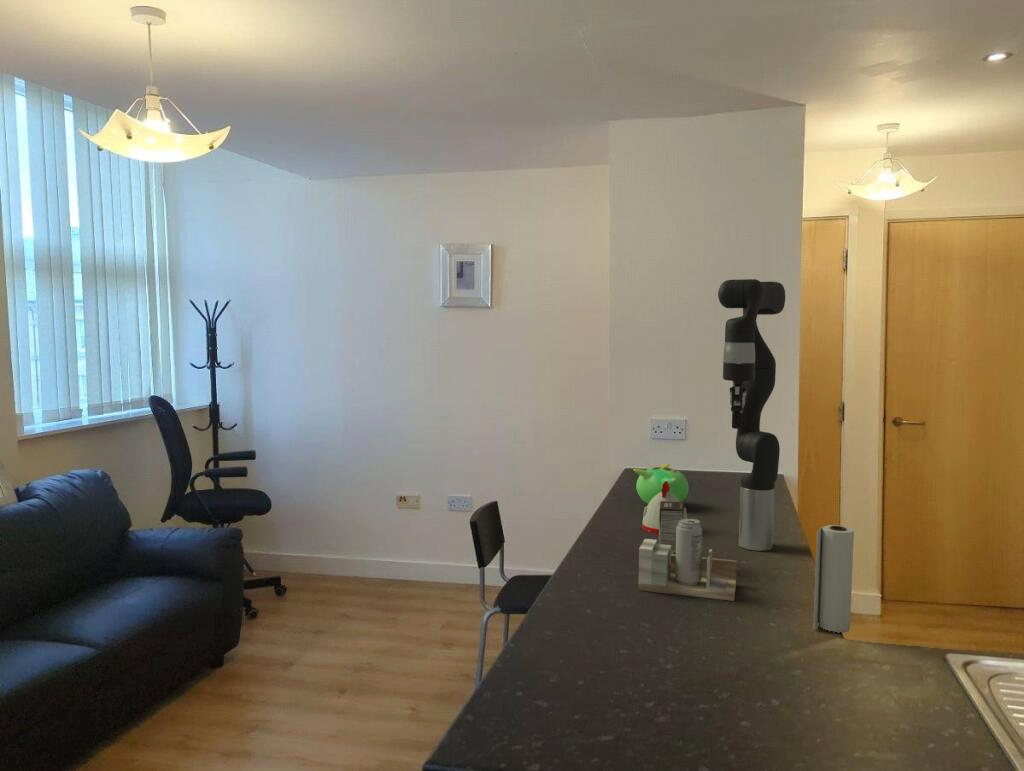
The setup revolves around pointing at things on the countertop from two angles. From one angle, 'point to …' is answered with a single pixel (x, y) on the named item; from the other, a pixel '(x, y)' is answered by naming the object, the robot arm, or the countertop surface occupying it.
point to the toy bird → (661, 482)
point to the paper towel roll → (833, 578)
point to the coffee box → (669, 522)
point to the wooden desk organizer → (661, 573)
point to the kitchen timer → (657, 509)
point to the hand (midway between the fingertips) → (737, 426)
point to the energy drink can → (688, 552)
